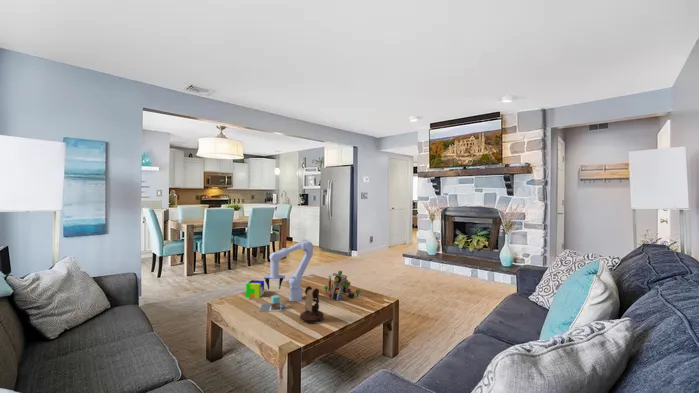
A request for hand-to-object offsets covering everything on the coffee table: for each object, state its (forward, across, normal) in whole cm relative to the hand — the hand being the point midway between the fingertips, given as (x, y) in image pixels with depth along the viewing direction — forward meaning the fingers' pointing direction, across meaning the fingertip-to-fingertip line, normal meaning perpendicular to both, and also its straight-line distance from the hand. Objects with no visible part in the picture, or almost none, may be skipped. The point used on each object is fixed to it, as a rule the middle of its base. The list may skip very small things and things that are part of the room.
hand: (274, 288), depth 216 cm
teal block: (+6, -2, +11) cm, 12 cm away
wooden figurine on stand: (+11, -26, +29) cm, 40 cm away
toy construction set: (+11, -47, -13) cm, 50 cm away
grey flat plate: (+10, 0, +9) cm, 14 cm away
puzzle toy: (+11, +16, -18) cm, 26 cm away
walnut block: (+10, -2, +11) cm, 15 cm away
